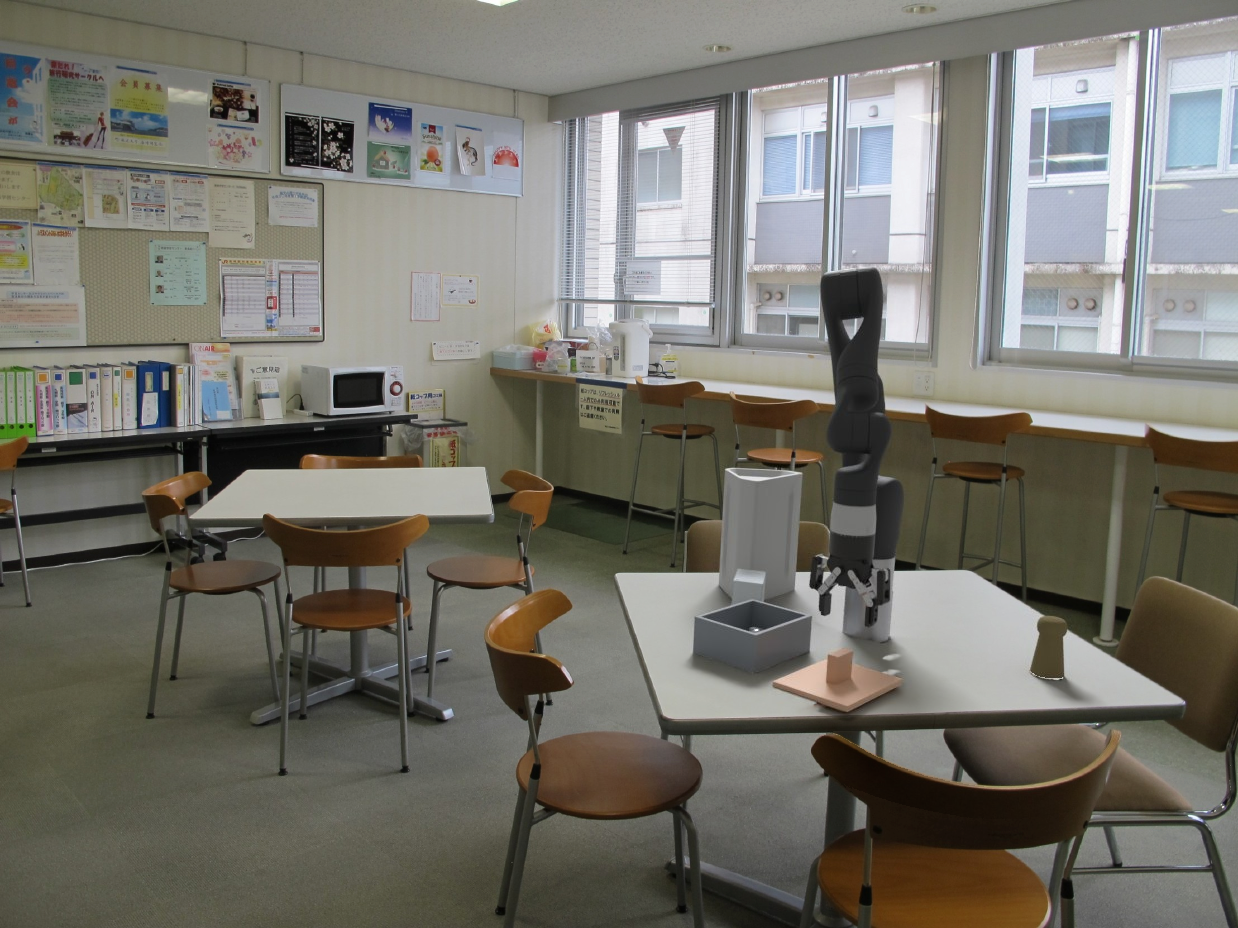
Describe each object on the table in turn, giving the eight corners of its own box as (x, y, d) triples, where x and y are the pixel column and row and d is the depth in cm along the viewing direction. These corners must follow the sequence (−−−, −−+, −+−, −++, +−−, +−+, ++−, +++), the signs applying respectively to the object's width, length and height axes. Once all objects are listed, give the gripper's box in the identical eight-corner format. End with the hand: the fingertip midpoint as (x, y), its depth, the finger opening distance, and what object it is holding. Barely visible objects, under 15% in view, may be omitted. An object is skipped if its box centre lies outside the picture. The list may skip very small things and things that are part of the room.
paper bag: (744, 576, 247) (751, 464, 243) (796, 589, 237) (803, 473, 233) (697, 590, 233) (703, 472, 228) (749, 605, 223) (757, 481, 219)
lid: (829, 668, 186) (832, 631, 185) (901, 690, 176) (905, 651, 175) (772, 693, 173) (774, 653, 172) (846, 718, 163) (849, 676, 162)
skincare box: (760, 632, 204) (763, 583, 202) (728, 629, 205) (731, 580, 204) (763, 617, 214) (766, 570, 212) (733, 615, 215) (736, 567, 214)
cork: (1061, 683, 182) (1068, 624, 180) (1026, 675, 185) (1032, 618, 183) (1066, 673, 187) (1073, 616, 185) (1032, 666, 190) (1038, 610, 188)
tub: (749, 637, 201) (752, 598, 199) (809, 655, 191) (812, 615, 190) (692, 657, 188) (694, 616, 186) (753, 678, 178) (755, 635, 177)
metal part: (754, 640, 196) (754, 626, 195) (766, 644, 193) (767, 629, 193) (744, 644, 193) (745, 629, 193) (757, 648, 191) (758, 633, 191)
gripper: (901, 532, 168) (895, 625, 170) (827, 518, 177) (822, 606, 180) (880, 539, 162) (873, 635, 165) (804, 524, 172) (799, 615, 174)
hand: (846, 620), depth 172 cm, fingers open, 8 cm apart
